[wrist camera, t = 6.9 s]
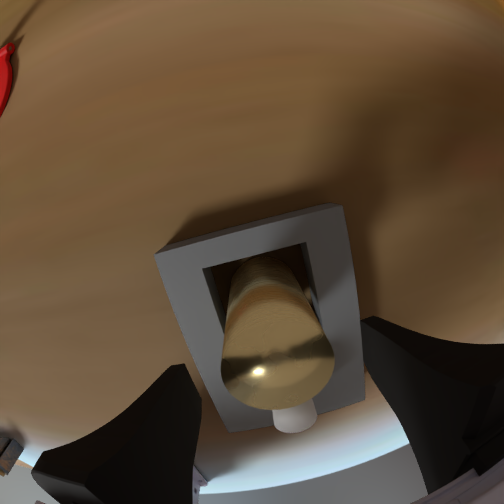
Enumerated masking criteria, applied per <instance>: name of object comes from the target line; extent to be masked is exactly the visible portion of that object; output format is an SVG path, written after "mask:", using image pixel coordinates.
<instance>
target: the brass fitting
mask: <svg viewBox="0 0 504 504" xmlns="http://www.w3.org/2000/svg"><path fill="white" fill-rule="evenodd" d="M334 364H335V357H334V352H333V349H332V346H331V344H330V342H329V340H328V338H327V336H326V335H325V333H324V331H323V329H322V327H321V325H320V323H319V321H318V319H317V317H316V315H315V314H314V312H313V310H312V308H311V306H310V304H309V302H308V300H307V298H306V297H305V295H304V293H303V291H302V289H301V287H300V285H299V284H298V282H297V280H296V278H295V276H294V274H293V273H292V271H291V269H290V268H289V267H288V266H287V265H286V264H285V263H283V262H282V261H280V260H278V259H275V258H272V257H257V258H253V259H251V260H248V261H247V262H245V263H243V264H242V265H241V266H240V267H239V268H238V269H237V270H236V272H235V274H234V275H233V278H232V281H231V286H230V294H229V302H228V309H227V317H226V325H225V334H224V342H223V350H222V359H221V369H220V370H221V377H222V381H223V383H224V385H225V387H226V388H227V390H228V391H229V392H230V394H231V395H232V396H234V397H235V398H236V399H237V400H239V401H240V402H242V403H244V404H246V405H248V406H251V407H254V408H258V409H265V410H280V409H287V408H291V407H294V406H297V405H300V404H302V403H304V402H306V401H308V400H310V399H311V398H313V397H314V396H315V395H317V394H318V393H319V392H320V391H321V390H322V389H323V388H324V387H325V386H326V384H327V383H328V381H329V379H330V377H331V375H332V373H333V370H334Z"/></svg>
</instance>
